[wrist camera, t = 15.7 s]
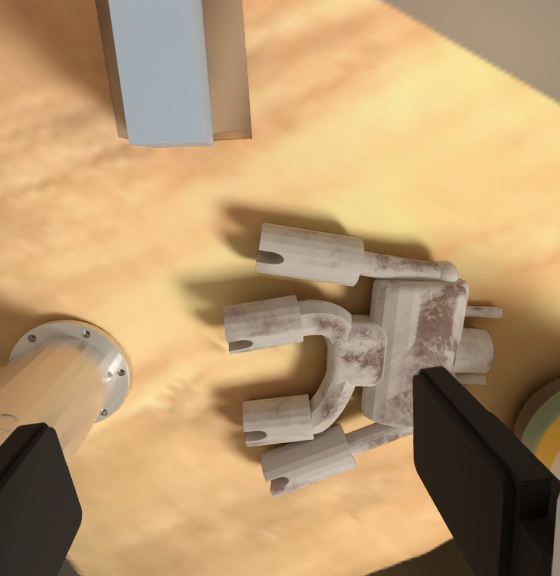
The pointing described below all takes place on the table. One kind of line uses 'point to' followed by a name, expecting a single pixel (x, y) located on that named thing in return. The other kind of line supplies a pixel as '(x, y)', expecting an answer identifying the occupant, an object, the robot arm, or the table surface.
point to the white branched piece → (352, 349)
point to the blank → (163, 72)
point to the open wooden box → (220, 66)
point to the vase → (542, 425)
